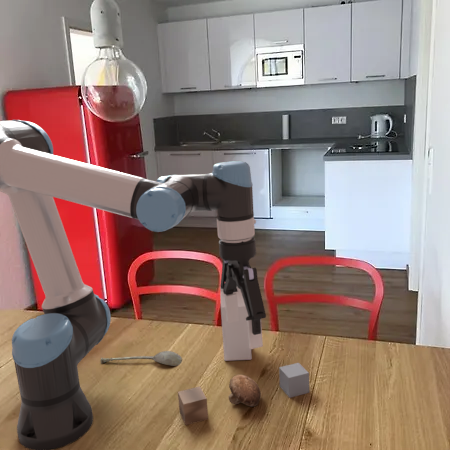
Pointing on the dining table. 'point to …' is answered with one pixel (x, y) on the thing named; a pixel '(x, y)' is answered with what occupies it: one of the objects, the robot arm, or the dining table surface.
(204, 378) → the dining table surface
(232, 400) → the mushroom
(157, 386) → the dining table surface
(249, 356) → the milk carton
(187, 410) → the walnut block
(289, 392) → the slate-grey block
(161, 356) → the soupspoon
